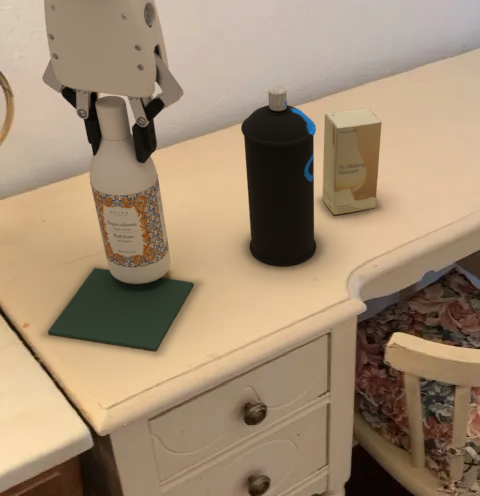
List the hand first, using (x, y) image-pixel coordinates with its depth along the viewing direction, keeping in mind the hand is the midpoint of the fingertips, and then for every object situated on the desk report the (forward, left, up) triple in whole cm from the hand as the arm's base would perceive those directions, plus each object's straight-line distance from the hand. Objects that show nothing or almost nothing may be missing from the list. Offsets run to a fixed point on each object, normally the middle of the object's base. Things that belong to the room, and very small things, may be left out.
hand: (124, 152), depth 86 cm
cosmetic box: (+20, +22, -16) cm, 34 cm away
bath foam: (0, 0, -15) cm, 15 cm away
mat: (0, -6, -16) cm, 17 cm away
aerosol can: (+14, +10, -16) cm, 23 cm away
